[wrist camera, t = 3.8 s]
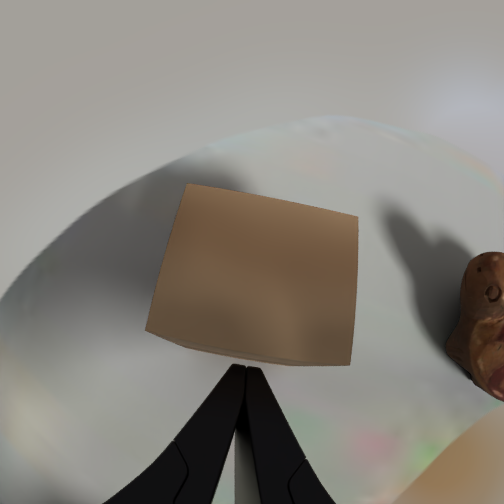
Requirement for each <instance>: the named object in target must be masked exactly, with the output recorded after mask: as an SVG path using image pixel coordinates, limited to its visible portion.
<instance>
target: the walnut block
mask: <svg viewBox="0 0 504 504" xmlns="http://www.w3.org/2000/svg"><path fill="white" fill-rule="evenodd" d="M357 273H358V217H357V216H353V215H348V214H344V213H340V212H336V211H331V210H327V209H322V208H318V207H313V206H309V205H304V204H299V203H295V202H290V201H285V200H280V199H275V198H270V197H265V196H260V195H254V194H249V193H243V192H238V191H232V190H227V189H221V188H215V187H209V186H203V185H196V184H190V183H187V185H186V188H185V191H184V193H183V196H182V199H181V203H180V206H179V209H178V212H177V215H176V218H175V221H174V224H173V228H172V231H171V234H170V237H169V241H168V244H167V248H166V251H165V255H164V258H163V262H162V265H161V269H160V272H159V276H158V280H157V284H156V288H155V291H154V295H153V299H152V303H151V307H150V312H149V316H148V320H147V324H146V329H145V331H147V332H149V333H152V334H154V335H156V336H159V337H161V338H163V339H166V340H168V341H170V342H173V343H175V344H178V345H180V346H183V347H185V348H189V349H193V350H198V351H203V352H208V353H213V354H218V355H223V356H228V357H234V358H239V359H245V360H251V361H257V362H264V363H270V364H277V365H285V366H347V365H350V362H351V353H352V344H353V334H354V323H355V310H356V294H357Z"/></svg>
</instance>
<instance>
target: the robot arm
mask: <svg viewBox="0 0 504 504" xmlns="http://www.w3.org/2000/svg"><path fill="white" fill-rule="evenodd" d="M234 432H235V504H336V503H335V502H334V501H333V499H332V498H331V497H330V495H329V494H328V492H327V491H326V490H325V488H324V487H323V485H322V484H321V482H320V481H319V479H318V477H317V476H316V474H315V472H314V471H313V469H312V467H311V465H310V463H309V462H308V460H307V459H305V458H306V456H305V454H304V452H303V451H302V449H301V447H300V445H299V443H298V441H297V439H296V437H295V435H294V433H293V431H292V430H291V428H290V426H289V424H288V422H287V420H286V418H285V416H284V414H283V412H282V410H281V408H280V406H279V404H278V402H277V400H276V398H275V396H274V394H273V392H272V390H271V388H270V386H269V384H268V382H267V380H266V378H265V376H264V374H263V372H262V370H261V369H260V368H258V367H252V366H248V367H247V368H246V366H245V365H240V364H232V365H231V366H230V367H229V369H228V370H227V371H226V373H225V374H224V375H223V377H222V378H221V379H220V381H219V382H218V383H217V385H216V386H215V387H214V389H213V390H212V391H211V393H210V394H209V395H208V396H207V398H206V399H205V400H204V402H203V403H202V404H201V405H200V407H199V408H198V409H197V411H196V412H195V413H194V414H193V416H192V417H191V418H190V419H189V421H188V422H187V423H186V424H185V426H184V427H183V428H182V429H181V431H180V432H179V433H178V434H177V436H176V437H175V438H174V440H173V441H171V443H170V444H169V445H168V446H167V447H166V449H165V450H164V451H163V452H162V453H161V454H160V455H159V456H158V458H157V459H156V460H155V461H154V462H153V463H152V464H151V465H150V466H149V467H148V468H146V469H145V470H144V471H143V472H142V473H141V474H140V475H139V476H137V477H136V478H135V479H134V480H133V481H131V482H130V483H129V484H128V485H126V486H125V487H124V488H123V489H121V490H120V491H119V492H118V493H116V494H115V495H114V496H113V497H111V498H110V499H108V500H107V501H106V502H104V503H103V504H212V501H213V498H214V495H215V492H216V489H217V486H218V483H219V480H220V477H221V474H222V471H223V468H224V464H225V461H226V458H227V455H228V452H229V448H230V445H231V442H232V439H233V435H234Z"/></svg>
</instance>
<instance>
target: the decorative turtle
mask: <svg viewBox="0 0 504 504" xmlns="http://www.w3.org/2000/svg"><path fill="white" fill-rule="evenodd" d="M460 303H461V315H460V319H459V322H458V324H457V326H456V327H455V329H454V331H453V332H452V334H451V335H450V336H449V338H448V340H447V342H446V352H447V354H448V355H449V356H450V358H452V359H453V360H454V361H455V362H456V363H458V364H459V365H461V366H462V367H463V368H465V369H466V370H467V371H468V372H469V373H470V374H471V375H472V376H471V380H472V381H473V383H474V384H475V385H476V386H478V387H480V388H481V389H482V390H484V391H485V392H487V393H488V394H489V395H491V396H493V397H494V398H496V399H498V400H500V401H503V402H504V253H502V252H486V253H482V254H480V255H478V256H476V257H475V258H473V259H472V260H471V261H470V262H469V263H468V266H467V268H466V270H465V273H464V276H463V279H462V283H461V290H460Z"/></svg>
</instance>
